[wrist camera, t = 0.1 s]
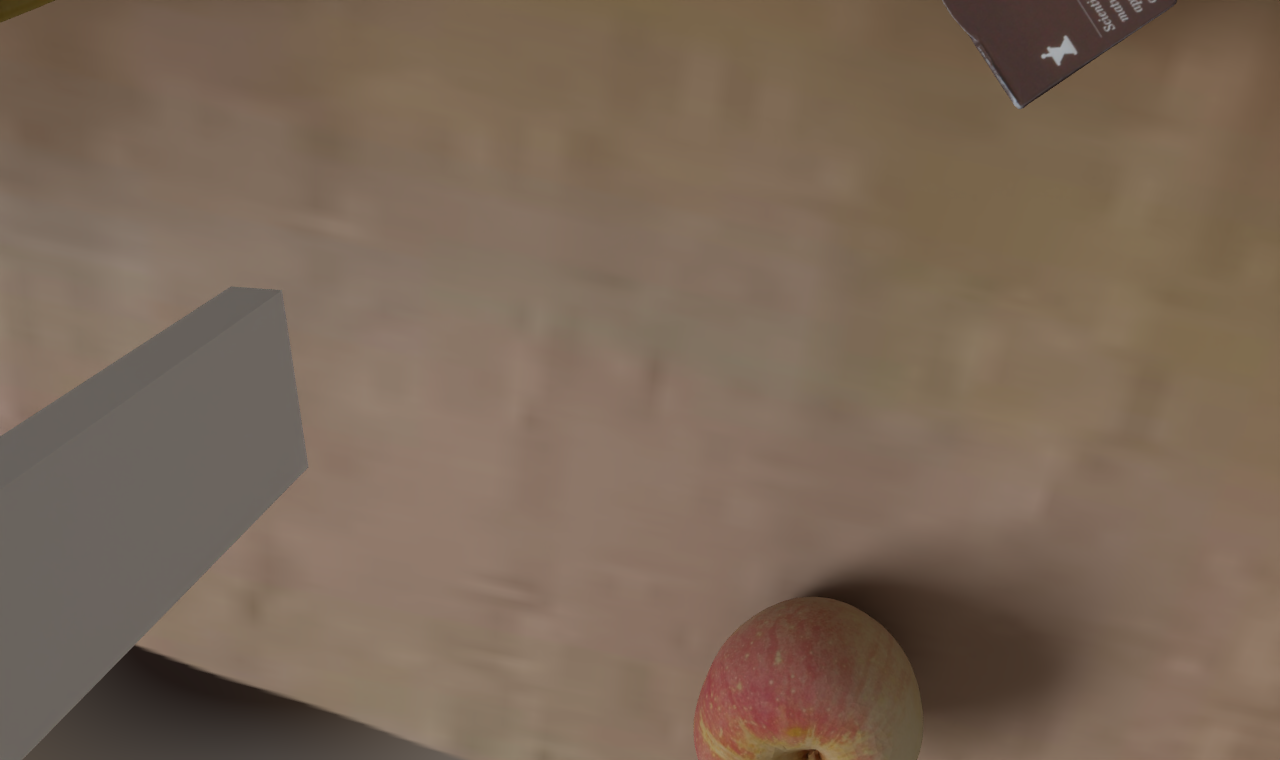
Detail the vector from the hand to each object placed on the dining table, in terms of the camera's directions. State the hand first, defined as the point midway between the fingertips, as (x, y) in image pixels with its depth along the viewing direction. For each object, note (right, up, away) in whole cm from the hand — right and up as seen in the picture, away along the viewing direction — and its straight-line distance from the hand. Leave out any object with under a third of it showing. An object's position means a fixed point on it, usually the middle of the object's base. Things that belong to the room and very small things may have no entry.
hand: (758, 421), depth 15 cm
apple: (+6, -11, +35) cm, 37 cm away
